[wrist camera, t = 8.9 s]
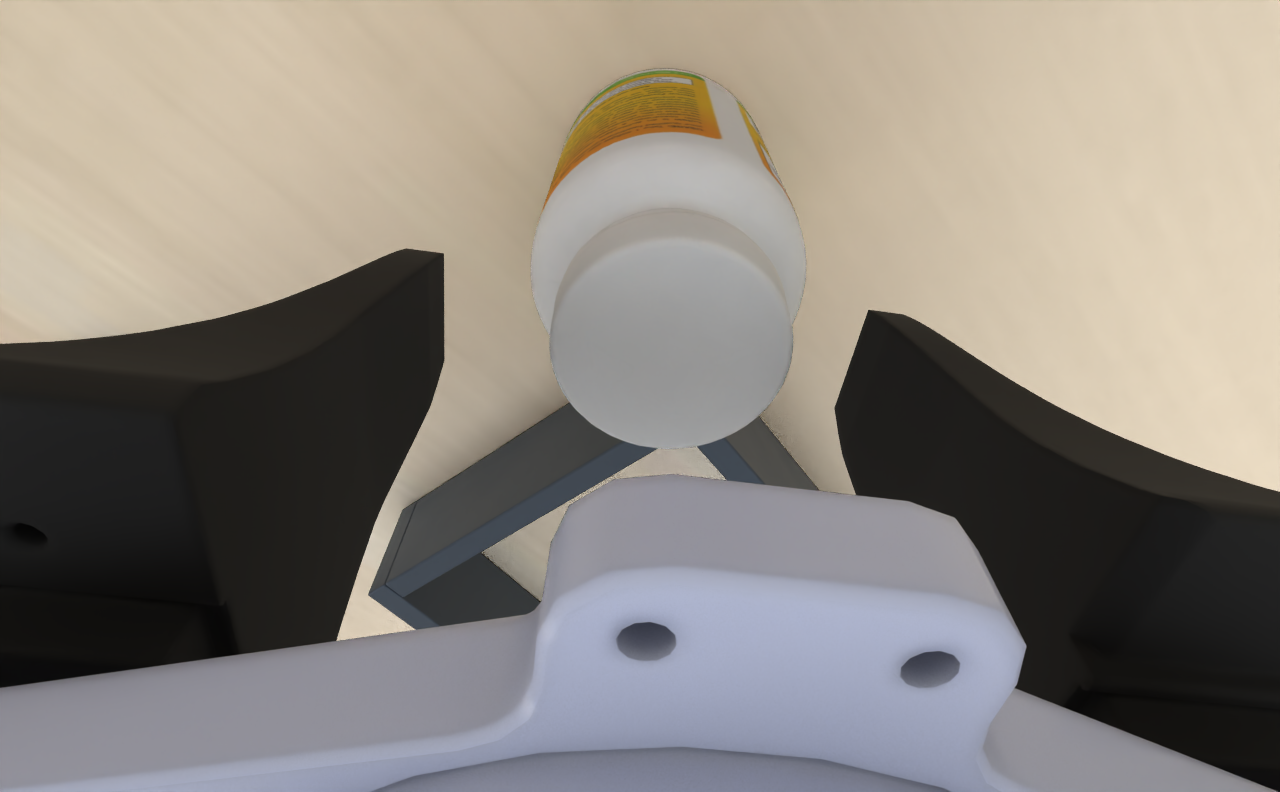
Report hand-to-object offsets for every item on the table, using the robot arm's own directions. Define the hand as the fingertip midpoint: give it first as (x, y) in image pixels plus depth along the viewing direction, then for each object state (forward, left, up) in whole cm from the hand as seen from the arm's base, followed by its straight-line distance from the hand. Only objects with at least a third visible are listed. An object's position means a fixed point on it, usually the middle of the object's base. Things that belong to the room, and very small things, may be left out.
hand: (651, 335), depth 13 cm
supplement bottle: (0, 0, -9) cm, 9 cm away
